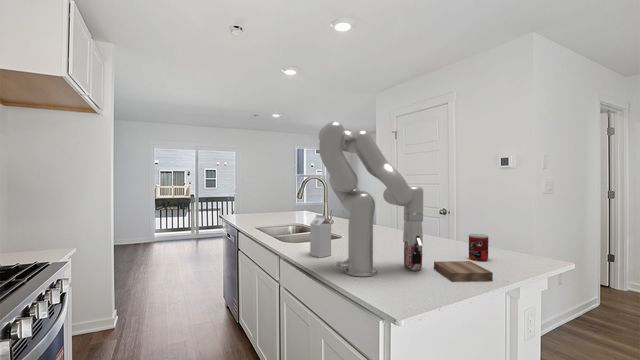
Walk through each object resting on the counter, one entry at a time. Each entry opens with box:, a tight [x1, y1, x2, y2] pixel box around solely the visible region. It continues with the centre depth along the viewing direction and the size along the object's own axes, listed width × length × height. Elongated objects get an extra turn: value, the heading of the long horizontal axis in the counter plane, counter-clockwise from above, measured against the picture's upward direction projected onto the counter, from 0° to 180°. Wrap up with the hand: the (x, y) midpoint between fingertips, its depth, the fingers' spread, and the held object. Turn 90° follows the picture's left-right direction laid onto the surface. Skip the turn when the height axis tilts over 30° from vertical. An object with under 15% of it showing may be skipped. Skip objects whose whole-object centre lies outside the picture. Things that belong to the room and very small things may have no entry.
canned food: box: [468, 233, 489, 262], centre depth 140 cm, size 8×8×11 cm
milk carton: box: [309, 214, 332, 259], centre depth 146 cm, size 7×7×19 cm
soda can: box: [403, 239, 423, 272], centre depth 125 cm, size 7×7×12 cm
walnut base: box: [433, 260, 494, 283], centre depth 118 cm, size 15×15×3 cm
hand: (413, 260), depth 125 cm, fingers closed on soda can, 7 cm apart
